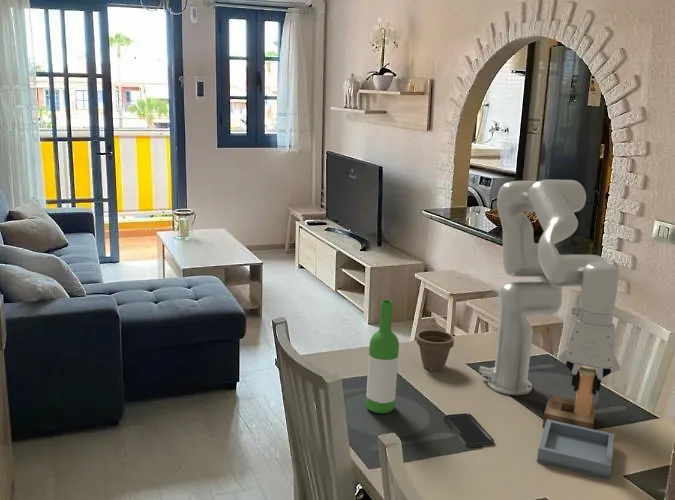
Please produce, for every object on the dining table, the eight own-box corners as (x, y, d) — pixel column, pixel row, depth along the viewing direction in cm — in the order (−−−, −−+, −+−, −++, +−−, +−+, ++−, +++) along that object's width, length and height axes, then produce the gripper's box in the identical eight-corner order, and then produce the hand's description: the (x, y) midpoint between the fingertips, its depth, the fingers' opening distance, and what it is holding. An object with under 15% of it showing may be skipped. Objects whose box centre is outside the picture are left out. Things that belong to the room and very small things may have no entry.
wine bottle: (373, 398, 189) (379, 295, 182) (399, 406, 186) (406, 300, 179) (360, 410, 183) (366, 302, 175) (387, 417, 179) (394, 308, 172)
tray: (536, 461, 161) (538, 448, 161) (545, 431, 176) (547, 419, 175) (609, 479, 155) (611, 465, 155) (612, 446, 170) (614, 433, 169)
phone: (470, 413, 182) (495, 441, 168) (469, 416, 183) (495, 445, 168) (442, 415, 180) (465, 444, 166) (441, 419, 181) (465, 448, 167)
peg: (573, 414, 162) (579, 370, 159) (574, 407, 165) (580, 365, 162) (589, 417, 160) (595, 373, 158) (590, 411, 164) (596, 368, 161)
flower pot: (406, 363, 214) (408, 333, 212) (432, 356, 221) (435, 326, 218) (432, 377, 205) (435, 345, 203) (459, 369, 212) (462, 338, 209)
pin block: (542, 427, 178) (544, 413, 177) (548, 408, 189) (549, 394, 188) (591, 438, 173) (593, 423, 172) (594, 418, 184) (596, 404, 183)
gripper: (555, 315, 157) (546, 389, 161) (634, 327, 151) (622, 404, 155) (559, 306, 164) (550, 378, 168) (634, 318, 157) (623, 392, 162)
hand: (585, 390), depth 161 cm, fingers closed on peg, 3 cm apart
